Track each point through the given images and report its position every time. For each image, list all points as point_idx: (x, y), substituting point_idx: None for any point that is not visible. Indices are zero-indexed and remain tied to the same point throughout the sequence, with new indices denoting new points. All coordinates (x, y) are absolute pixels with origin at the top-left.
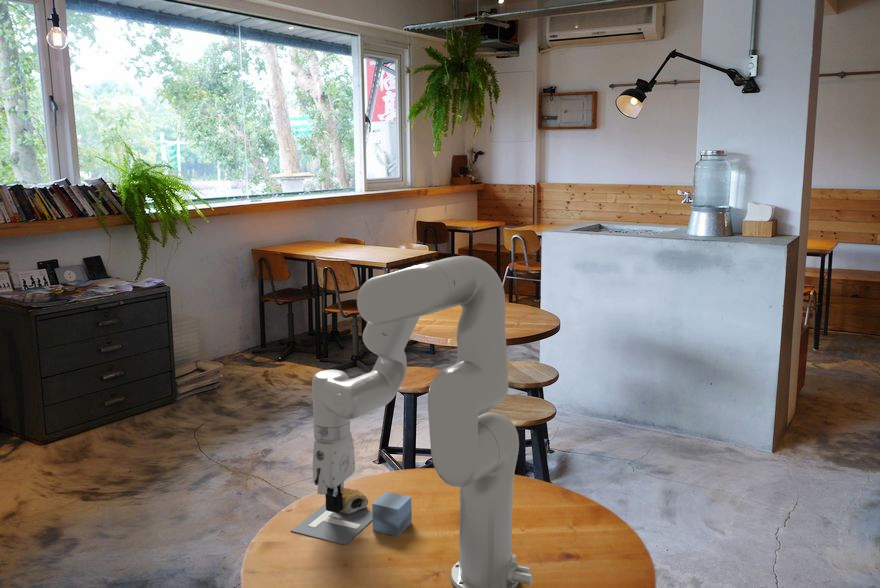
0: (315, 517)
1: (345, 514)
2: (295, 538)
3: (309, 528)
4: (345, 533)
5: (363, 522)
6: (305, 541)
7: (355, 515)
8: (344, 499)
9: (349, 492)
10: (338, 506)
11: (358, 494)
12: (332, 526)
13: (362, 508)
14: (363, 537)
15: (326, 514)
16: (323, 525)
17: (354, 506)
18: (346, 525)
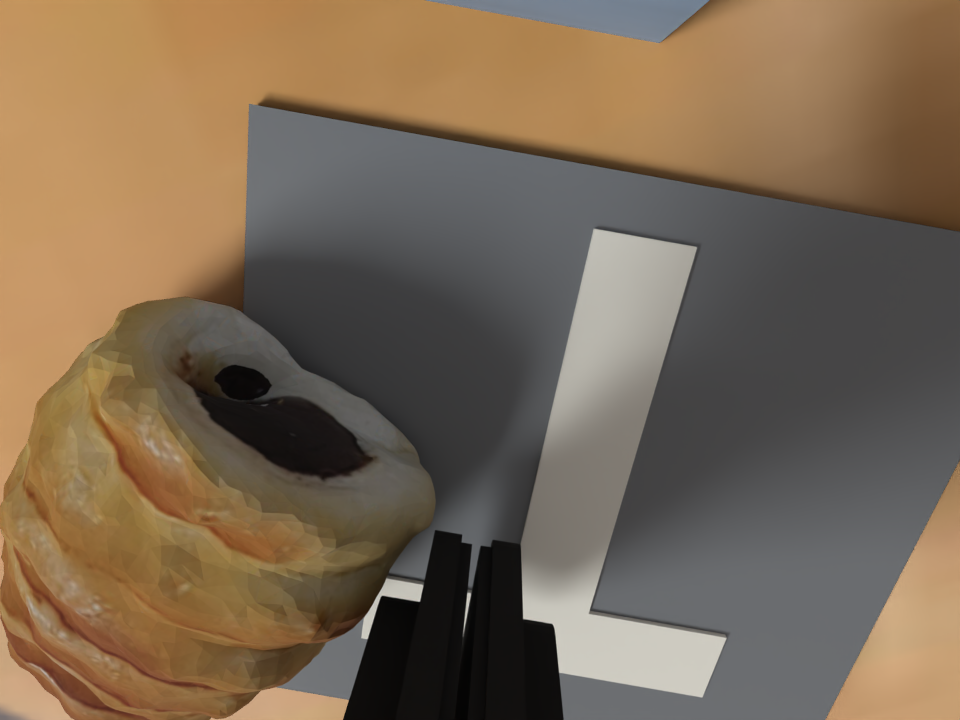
0: None
1: None
2: (902, 710)
3: (742, 670)
4: (812, 335)
5: (523, 222)
6: (956, 630)
7: (396, 365)
8: (328, 591)
9: (168, 599)
10: (522, 600)
11: (147, 465)
12: (676, 506)
13: (268, 332)
14: (857, 98)
15: None
16: (670, 585)
17: (322, 425)
18: (643, 382)
